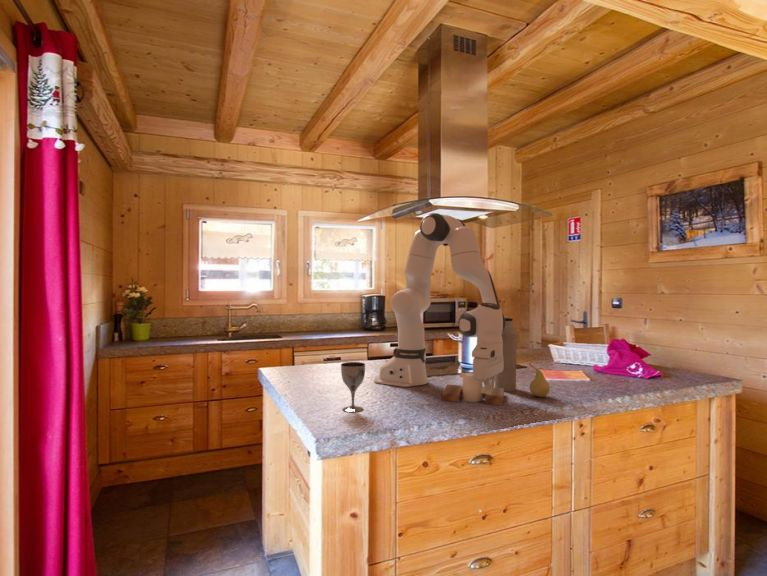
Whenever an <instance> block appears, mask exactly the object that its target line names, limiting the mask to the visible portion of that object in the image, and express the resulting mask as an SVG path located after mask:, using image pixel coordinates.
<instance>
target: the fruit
mask: <svg viewBox="0 0 767 576" xmlns="http://www.w3.org/2000/svg"><path fill="white" fill-rule="evenodd" d="M529 366H530V367H532V368H533V369H535V377H534V379H533V380H532V381H530V383H529V391H530V393H531V394H532V395H533V396H535V397H538V398H545V397H547V396H548V395H549V393H550V389H551V388H550V387H551V386H550V383H548V381H547V379H546V377H545V376H544V373H543V371H541V369H539V368H537V367H535V366H534V365H532V364H531V363H529Z"/></svg>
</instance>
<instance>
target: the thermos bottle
mask: <svg viewBox="0 0 767 576" xmlns="http://www.w3.org/2000/svg"><path fill="white" fill-rule="evenodd" d="M504 318H505V321H506V326H505V329H504V331H503V333H502V339H503V361H504V369H503V371H502V372H500V373H499V374H497V375H496V378H495V382H494V388H501V389H504V392H507V391H508V392H509V391H510V392H515V391H516V390H517V337H518V336H517V335H518V334H517V332H516V327H515V326H514V325H513V318H511V317H504ZM510 392H509V393H510Z"/></svg>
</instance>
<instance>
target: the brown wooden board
mask: <svg viewBox="0 0 767 576" xmlns="http://www.w3.org/2000/svg"><path fill="white" fill-rule="evenodd" d="M482 389H484V386H482ZM504 393H505V391H504V389H501V388H495V387H493V388H492V394H485V393H482V398H484V405H491V404H495V405H494V406H502V405H503V406H504V395H505V394H504ZM461 398H462V384H461V385H459V384H446V386H445V387H444V390H443V391H442V393H441V401H445V402H446V401H447V402H455V401H459V402H460V400H461Z"/></svg>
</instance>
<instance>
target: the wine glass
mask: <svg viewBox="0 0 767 576" xmlns="http://www.w3.org/2000/svg"><path fill="white" fill-rule="evenodd" d="M340 372H341V373H340V374H341V379H342V381H343V383H344V385H345V386H346V388H348V389H349V391H350V395H351V405H348V406H345V407H343V408H342V409H341V411H342V410H343V411H342V412H344V413H348V412H349V413H350V414H353V413H355V414H356V412H357V413H361V412H364V410H365V409H364V408H363V407H361V406H357V405H355V395H356V391H357V389H358V388H359V387H360V386H361V384H362V383H363V382H364V379H365V374H366V363H364V362H359V361H347V362H342V363H341V364H340Z"/></svg>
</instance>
